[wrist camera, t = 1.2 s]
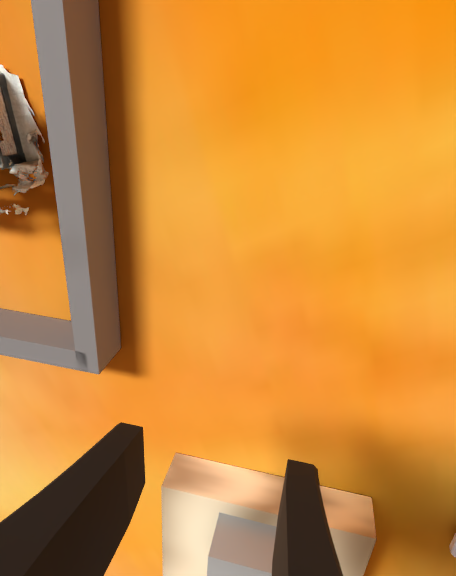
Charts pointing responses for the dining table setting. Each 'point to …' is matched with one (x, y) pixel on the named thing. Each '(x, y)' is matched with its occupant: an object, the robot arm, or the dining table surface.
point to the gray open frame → (74, 195)
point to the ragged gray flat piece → (18, 137)
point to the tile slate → (241, 547)
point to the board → (248, 513)
